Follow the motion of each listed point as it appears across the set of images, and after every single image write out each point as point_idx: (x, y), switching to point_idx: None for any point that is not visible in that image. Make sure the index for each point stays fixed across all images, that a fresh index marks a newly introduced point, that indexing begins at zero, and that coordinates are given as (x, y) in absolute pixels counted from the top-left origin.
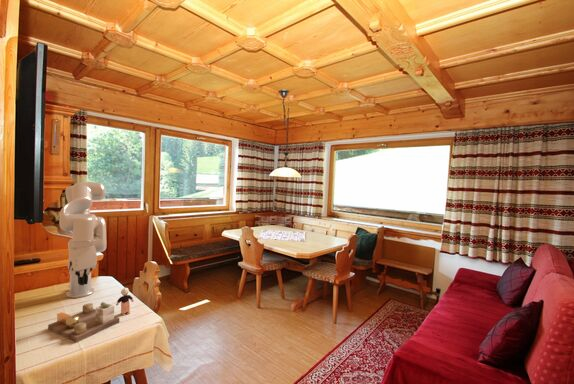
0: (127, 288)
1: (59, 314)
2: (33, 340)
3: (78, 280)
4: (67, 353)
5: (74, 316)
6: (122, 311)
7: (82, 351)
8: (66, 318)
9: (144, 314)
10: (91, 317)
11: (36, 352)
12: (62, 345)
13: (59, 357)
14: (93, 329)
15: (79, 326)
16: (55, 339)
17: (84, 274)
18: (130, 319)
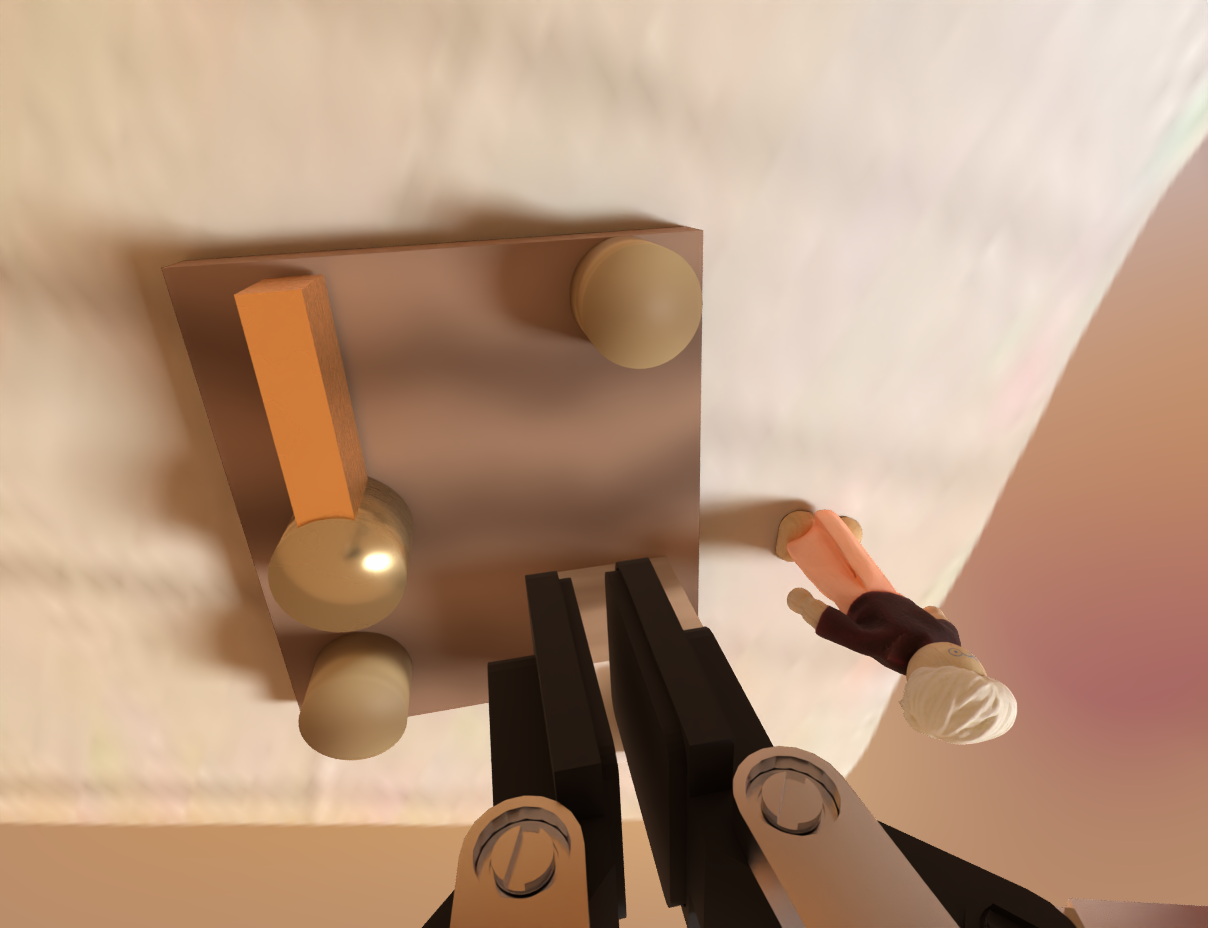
0: (1003, 733)
1: (255, 341)
2: (11, 394)
3: (491, 739)
4: (215, 788)
5: (367, 560)
6: (798, 565)
7: (302, 823)
8: (280, 544)
9: (865, 656)
10: (567, 474)
11: (15, 632)
12: (218, 669)
13: (156, 799)
14: (460, 700)
15: (337, 741)
16: (197, 536)
17: (697, 895)
18: (759, 654)
